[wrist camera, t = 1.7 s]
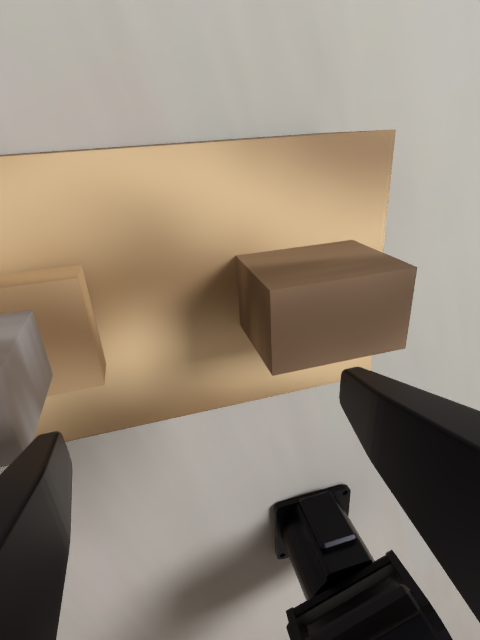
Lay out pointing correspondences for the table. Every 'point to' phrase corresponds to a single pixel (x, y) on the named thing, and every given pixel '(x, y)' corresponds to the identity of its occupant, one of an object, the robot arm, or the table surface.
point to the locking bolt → (43, 348)
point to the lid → (213, 267)
